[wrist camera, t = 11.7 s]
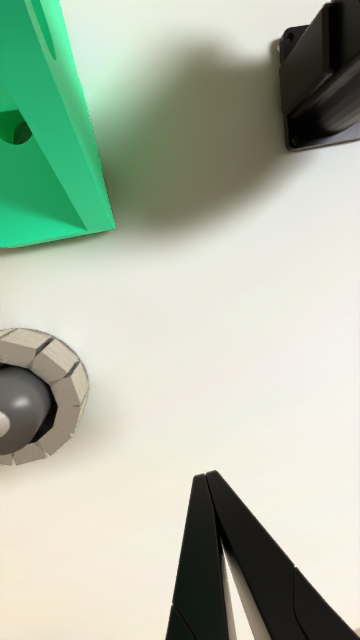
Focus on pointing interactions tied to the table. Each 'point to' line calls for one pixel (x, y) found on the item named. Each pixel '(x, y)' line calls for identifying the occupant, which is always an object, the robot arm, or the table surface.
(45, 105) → the camera mount
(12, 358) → the grey piece
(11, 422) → the cap
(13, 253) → the table surface
